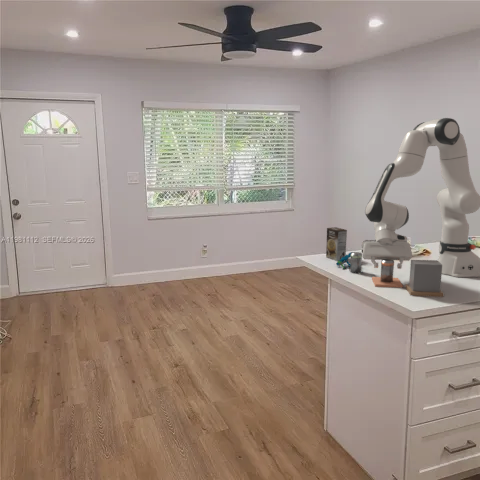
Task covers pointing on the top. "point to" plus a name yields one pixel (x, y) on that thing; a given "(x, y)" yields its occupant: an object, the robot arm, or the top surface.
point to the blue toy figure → (341, 262)
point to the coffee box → (336, 243)
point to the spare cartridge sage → (355, 262)
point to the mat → (379, 283)
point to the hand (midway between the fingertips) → (388, 267)
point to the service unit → (425, 278)
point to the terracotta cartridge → (387, 270)
